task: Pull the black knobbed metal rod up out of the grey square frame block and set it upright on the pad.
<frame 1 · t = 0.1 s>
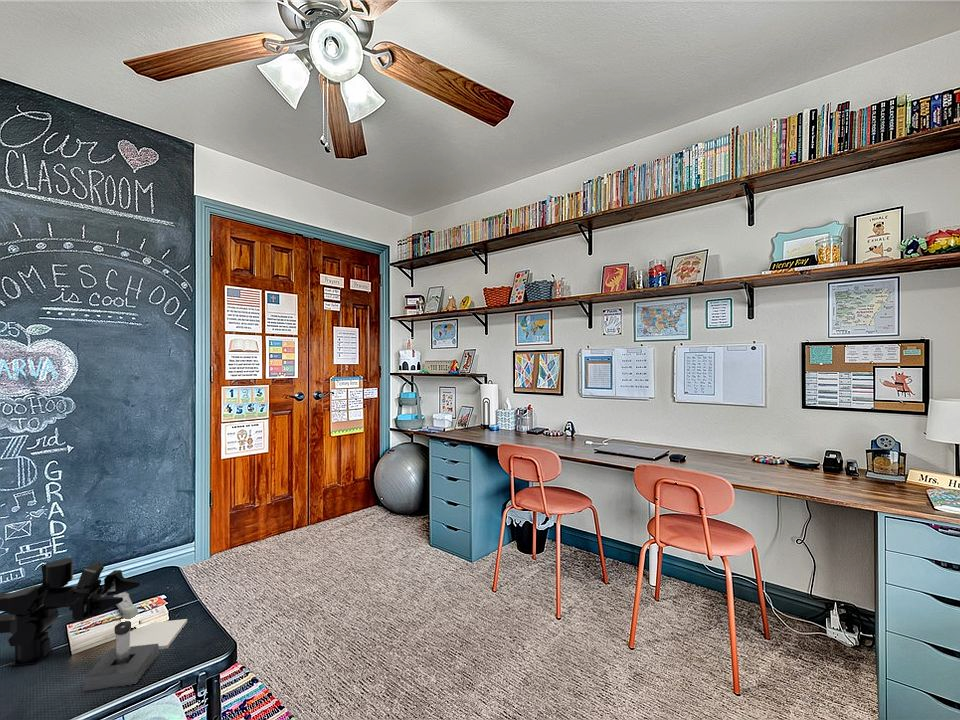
hand: (131, 591, 136), 17 cm above the table, tool horizontal, fingers open, 9 cm apart
black knobbed metal rod: (123, 648, 125), in the grey square frame block
pad: (152, 637, 141), on the table
grey rounded bar: (125, 616, 153), on the table
grey square frame block: (123, 672, 125), on the table
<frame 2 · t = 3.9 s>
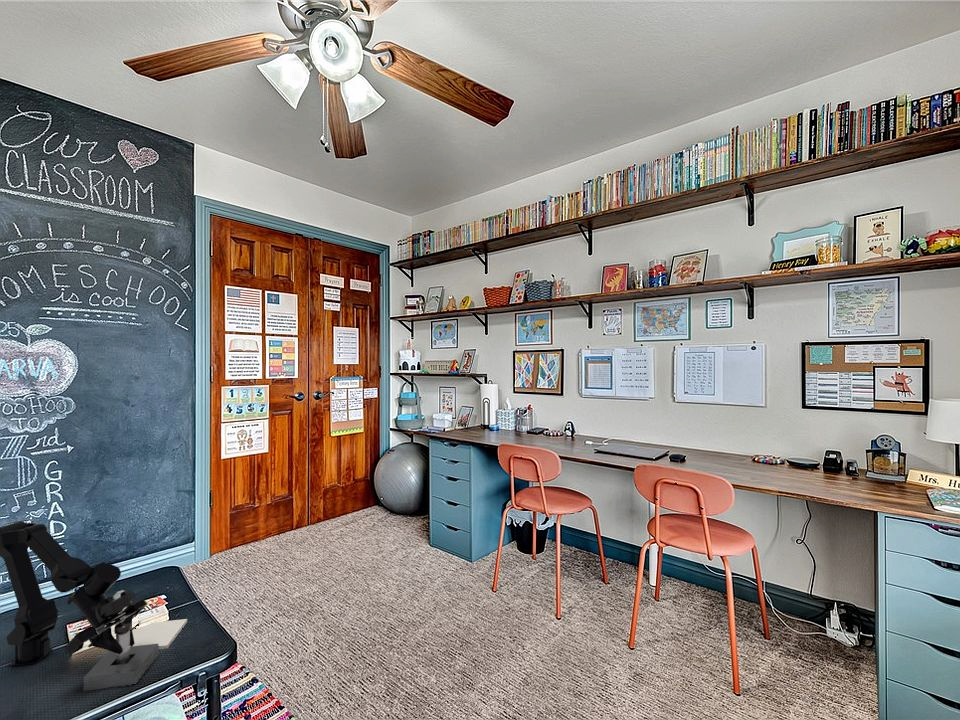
hand: (127, 648, 125), 7 cm above the table, tool tilted 45°, fingers closed on black knobbed metal rod, 3 cm apart
black knobbed metal rod: (123, 648, 125), in the grey square frame block, touching gripper
everything else where it was.
when the fingers open (8 cm above the table, at t = 8.0 s): black knobbed metal rod stays where it is, resting on pad.
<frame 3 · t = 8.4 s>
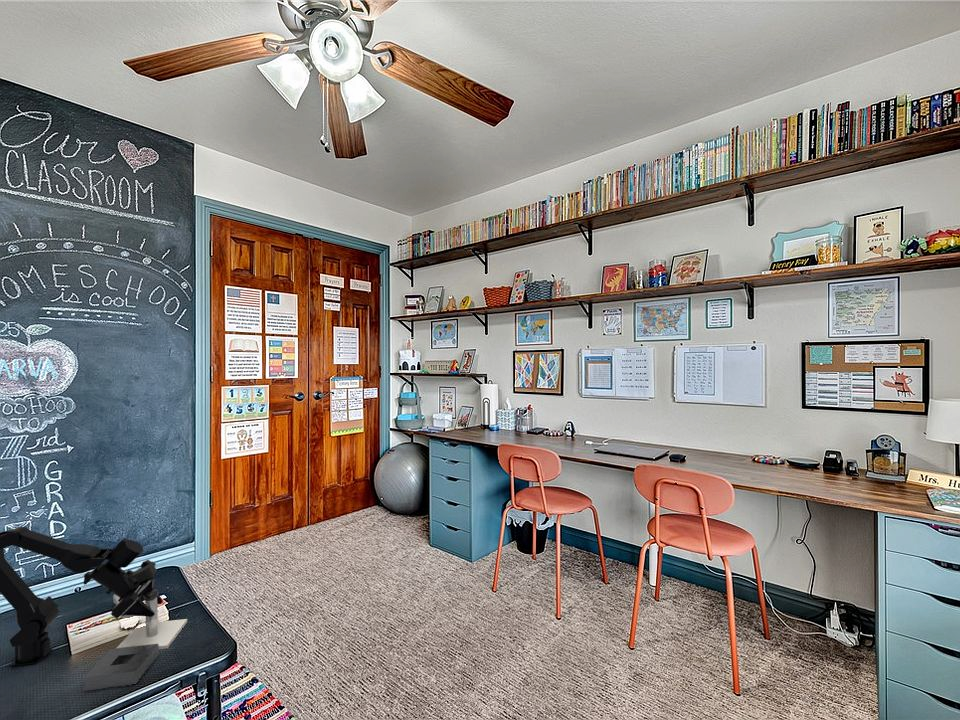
hand: (157, 608, 141), 9 cm above the table, tool tilted 45°, fingers open, 7 cm apart
black knobbed metal rod: (151, 613, 141), on the pad, point 8 cm above the table
everything else where it was.
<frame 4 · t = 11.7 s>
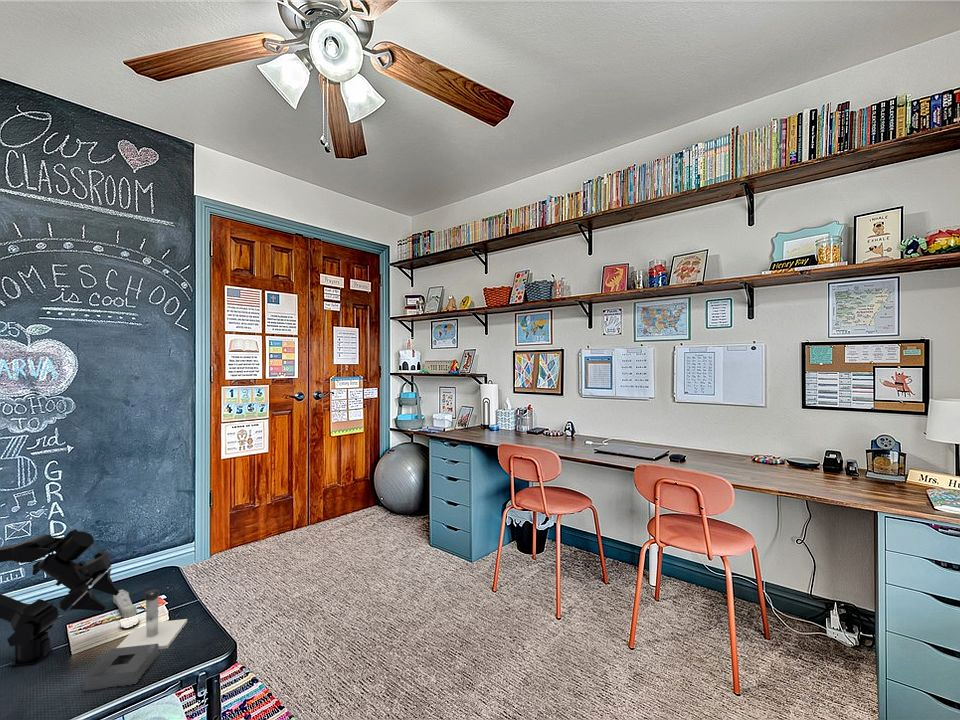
hand: (111, 601, 136), 14 cm above the table, tool tilted 45°, fingers open, 9 cm apart
nothing on the table moved.
at the end: black knobbed metal rod inside the target area on the pad (0.0 cm from its centre), point 7.5 cm above the pad's base; black knobbed metal rod tilted 0°; the gripper is holding nothing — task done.
